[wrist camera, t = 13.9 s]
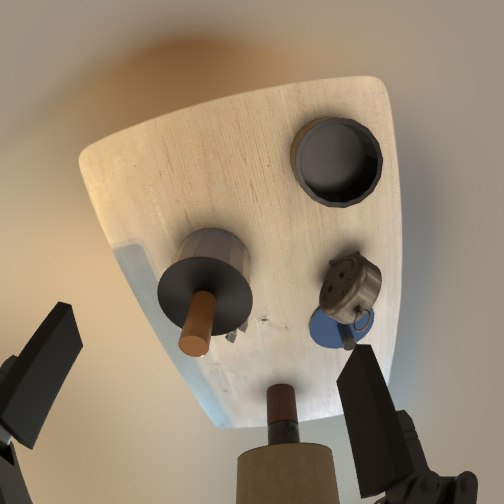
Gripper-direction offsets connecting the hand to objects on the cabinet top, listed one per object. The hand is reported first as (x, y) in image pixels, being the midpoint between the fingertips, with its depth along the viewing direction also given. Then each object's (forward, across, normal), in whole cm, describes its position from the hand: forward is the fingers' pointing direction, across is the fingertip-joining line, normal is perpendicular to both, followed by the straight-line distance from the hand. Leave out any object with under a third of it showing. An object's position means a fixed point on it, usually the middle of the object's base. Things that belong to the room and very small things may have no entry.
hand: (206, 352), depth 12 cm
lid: (+24, -3, -16) cm, 29 cm away
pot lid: (+34, +24, -25) cm, 49 cm away
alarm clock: (+35, +19, -13) cm, 42 cm away
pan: (+35, +13, +5) cm, 37 cm away
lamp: (+35, +16, -50) cm, 64 cm away
